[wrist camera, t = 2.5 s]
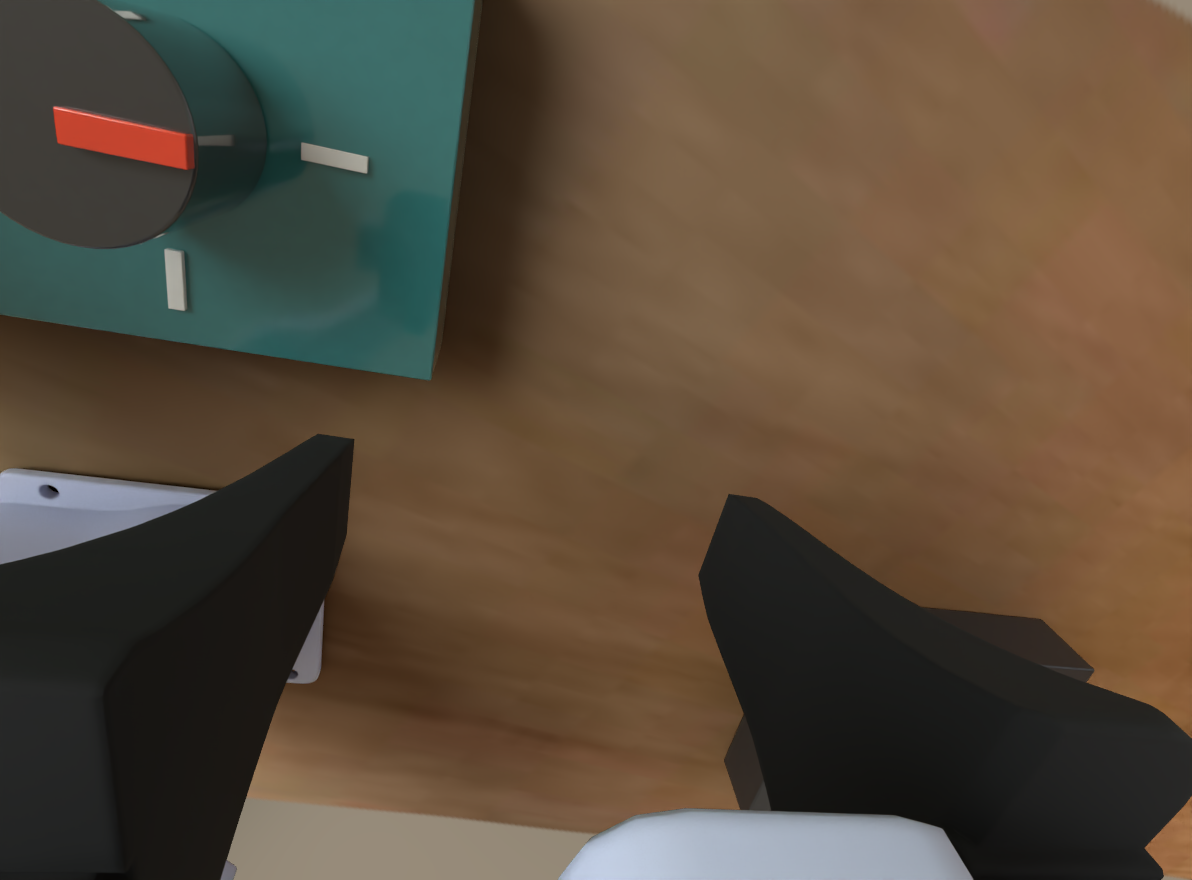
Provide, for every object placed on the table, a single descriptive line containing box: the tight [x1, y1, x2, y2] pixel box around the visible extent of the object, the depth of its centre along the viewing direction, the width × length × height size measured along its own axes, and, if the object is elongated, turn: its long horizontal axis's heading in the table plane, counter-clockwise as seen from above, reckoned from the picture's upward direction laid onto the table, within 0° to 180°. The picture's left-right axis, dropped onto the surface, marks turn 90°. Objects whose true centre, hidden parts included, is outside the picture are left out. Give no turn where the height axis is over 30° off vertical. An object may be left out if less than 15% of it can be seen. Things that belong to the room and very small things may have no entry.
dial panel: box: [0, 0, 483, 381], centre depth 15 cm, size 12×10×3 cm
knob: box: [0, 0, 267, 249], centre depth 12 cm, size 4×4×4 cm
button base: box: [724, 607, 1094, 811], centre depth 27 cm, size 12×10×5 cm
